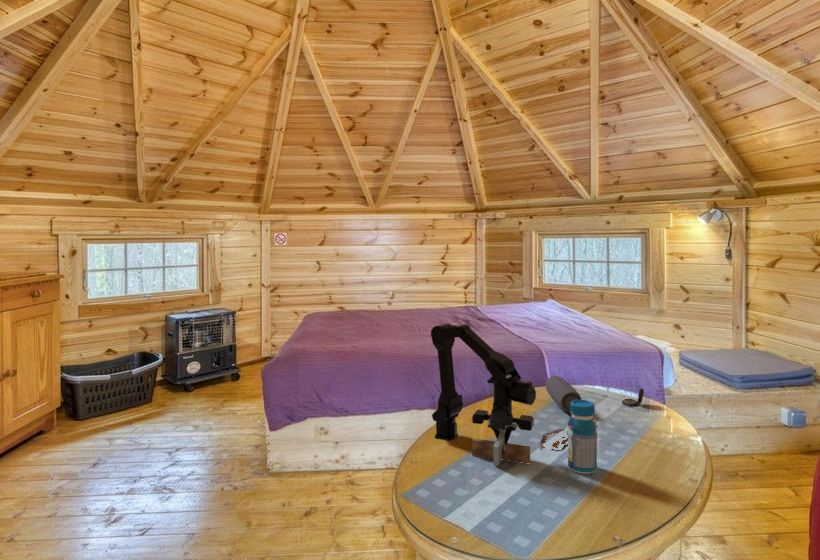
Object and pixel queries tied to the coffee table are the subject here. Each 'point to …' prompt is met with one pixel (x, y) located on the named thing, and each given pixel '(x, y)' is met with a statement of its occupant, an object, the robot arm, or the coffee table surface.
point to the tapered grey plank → (499, 447)
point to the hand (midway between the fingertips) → (503, 445)
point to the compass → (633, 402)
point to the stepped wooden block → (510, 453)
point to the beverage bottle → (582, 437)
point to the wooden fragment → (553, 443)
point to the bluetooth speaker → (561, 392)
